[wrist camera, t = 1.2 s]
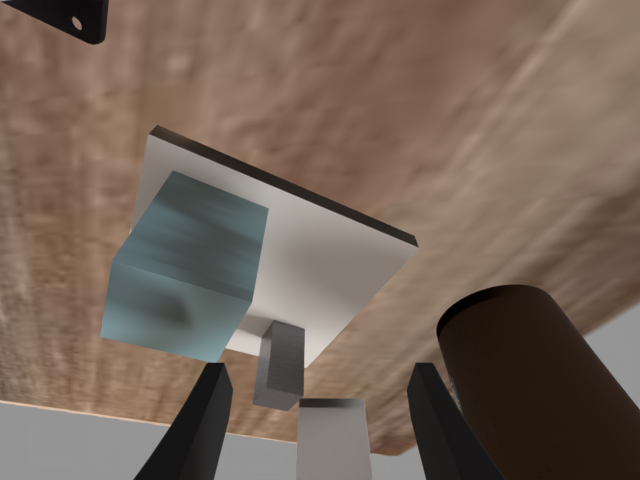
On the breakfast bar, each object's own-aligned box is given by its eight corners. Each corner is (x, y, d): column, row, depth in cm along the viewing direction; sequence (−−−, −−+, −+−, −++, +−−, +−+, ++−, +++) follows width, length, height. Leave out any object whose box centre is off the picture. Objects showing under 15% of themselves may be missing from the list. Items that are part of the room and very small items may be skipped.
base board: (120, 307, 25) (113, 320, 24) (157, 124, 16) (148, 134, 15) (306, 355, 30) (306, 368, 29) (414, 235, 21) (419, 248, 20)
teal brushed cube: (154, 240, 20) (99, 337, 15) (172, 170, 17) (111, 260, 12) (238, 268, 21) (215, 363, 16) (268, 208, 18) (251, 302, 13)
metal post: (261, 335, 26) (252, 404, 22) (274, 317, 25) (266, 388, 21) (291, 343, 27) (287, 411, 23) (305, 326, 26) (303, 396, 22)
